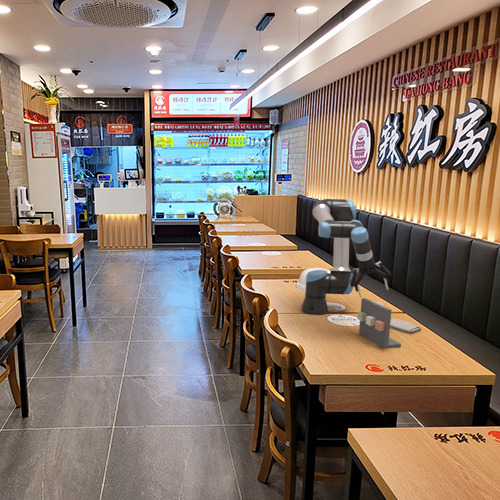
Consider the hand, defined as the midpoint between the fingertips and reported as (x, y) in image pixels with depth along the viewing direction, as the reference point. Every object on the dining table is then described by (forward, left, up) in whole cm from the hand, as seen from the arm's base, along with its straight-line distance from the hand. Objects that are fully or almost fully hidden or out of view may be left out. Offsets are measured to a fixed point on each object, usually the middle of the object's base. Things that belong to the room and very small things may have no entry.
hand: (373, 292), depth 221 cm
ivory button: (+15, -11, -11) cm, 21 cm away
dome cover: (-84, +16, -20) cm, 88 cm away
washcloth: (+2, +17, -20) cm, 26 cm away
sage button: (+8, -11, -11) cm, 17 cm away
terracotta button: (+22, -11, -11) cm, 27 cm away
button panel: (+15, -6, -20) cm, 25 cm away
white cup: (-10, +10, -20) cm, 24 cm away
